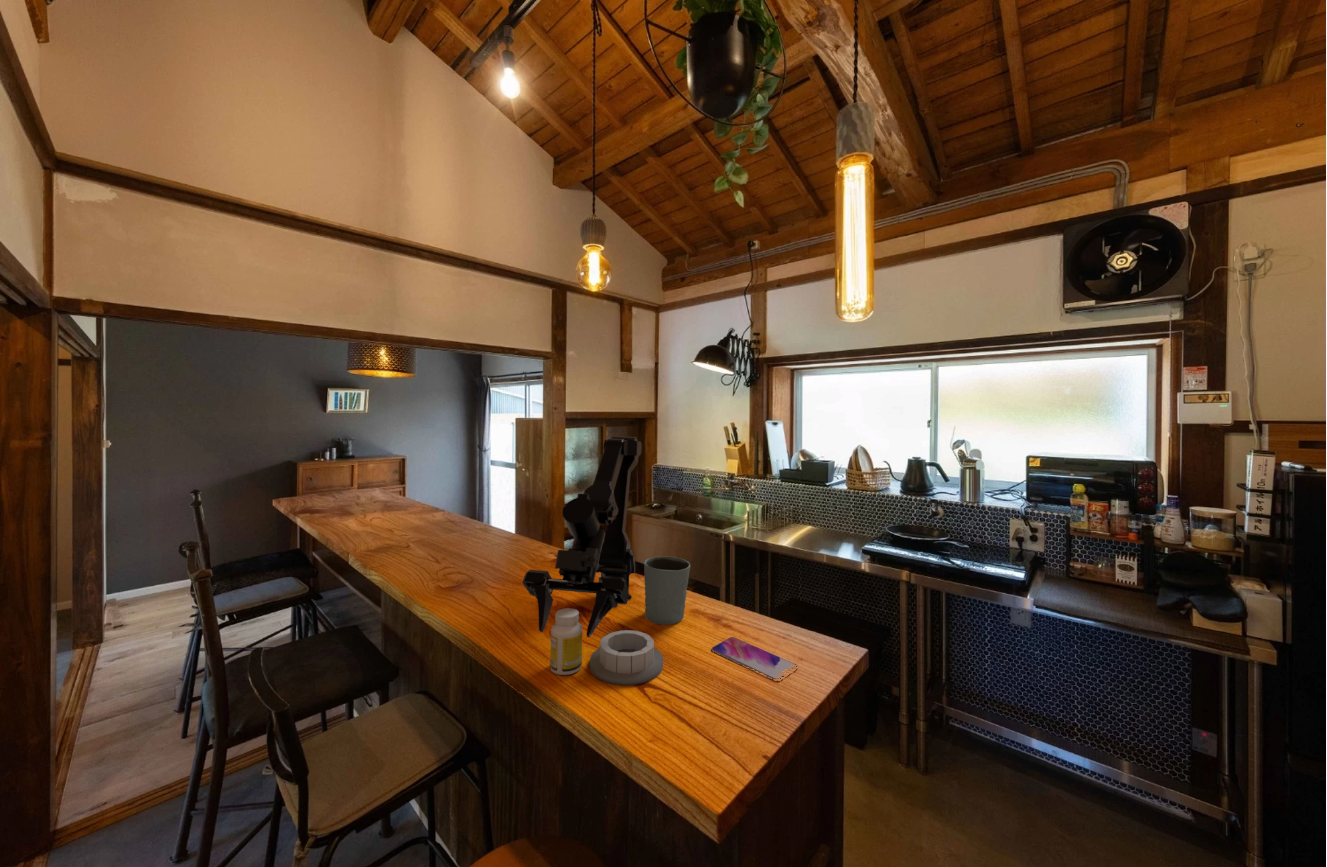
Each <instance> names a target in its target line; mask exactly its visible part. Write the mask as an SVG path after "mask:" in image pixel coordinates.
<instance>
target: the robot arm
mask: <svg viewBox="0 0 1327 867" xmlns="http://www.w3.org/2000/svg"><path fill="white" fill-rule="evenodd" d="M642 447H643V446H642V442H641V441H638V438H637V436H617V435H615V436H614V435H613V436H612V437H611V438H607V439H604V442H603V452H602V455H601V459H600V462H599V464H598V468H597V471H596V474H595V476H594V480H593V482H592V484H591V485H590V486H588V487H587V488H586V489H585V490H584V491H583V493H580V492H579V493H578V494H577V497H576V498H573V499H570V500H569V501H568V502H567V503H566V504H565V505H564V506H563V508H562V517H563V519H564V521H565V524H566V526H567V528H568V531H569V534H570V536H572V537H573V541H572V545H571V548H570V547H569V548H568V549H567V550H566V549H565V550H564V549H558V550H557V554H556V559H555V560H556V561H555V566H554V569H555V570H559V571H558V573H559V576H562V579H561V578H552V576H551V575H550V573H549V571H548V570H542V569H541V570H540V569H529V570H528V571H527V572H526V573H525V574H524V576H523V579H522V585H523V586H524V587H525V589H526V591H527V593H528V594H529V595H530V596H533V597H535V598H536V600H537V609H538V631H539V633H544V631H545V628H546V626H547V623H548V619H549V616H550V612H551V609H552V606H553V602H554V598H553V597H552V594H553V591H565V592H576V593H586V594H595V599H594V600H595V601H594V605H593V608H592V612H591V615H590V618H589V621H588V624H587V629H586V637H587V638H590V637H592V634H593V633H594V632H595V631H596V629H597V628H598V626H599V625H600V623H601V622H602V621H603V619H604V617H606V616H607V614H608V613H609V612H610V611H611V610H612V609H614V608H615V609H616V608H618V605H627V604H628V602H629V601H628V600H629V599H632V598H633V597H632V595H631V594H630V593H629V592H630V576H631V574H632V575H633V574H635V572H636V562H635V556H634V554H633V550H632V549H631V547H632V546H631V543H632V542H631V541H630V539H629V537H628V534H627V533H626V526H627V518H628V517H627V516H628V505H629V496H630V495H629V494H630V486H631V485H630V484H631V483H630V482H631V473H632V472H633V471H634V469H635V468H636V466H637V465H638V463H639V457H640V456H641V454H642V450H643V449H642ZM601 525H605V526H606V530H605V529H604V528H603V527H602V526H601ZM597 573H599V574H600V576H599V577H598V581H597V582H596V581H595V578H596V574H597Z"/></svg>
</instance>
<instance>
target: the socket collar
mask: <svg viewBox="0 0 1327 867" xmlns="http://www.w3.org/2000/svg"><path fill="white" fill-rule="evenodd" d="M663 668H664V657H663V655H662V653H661V652H660V650H658V649H657V648H655V640H654V638H652V637H651V636H650V635H649V634H648V633H644V632H642V631H638V630H631V629H629V630H628V629H625V630H618V631H612V632H610V633H607V635H605V636H603V637H602V638H601V640H600V643H599V648H597V649H596V650H594V652H592V654H591V655H590V658H589V670H590V671H591V674H592V675H593V676H594V677H595V678H597V679H598V680H600V681H603V682H605V683H606V684H611V685H617V686H635V685H636V686H637V685H640V684H645V683H647V681H648V682H650V681H651V680H654V679H655V678H656V677H658V676H659V675H660V674H661V673H662V672H663Z"/></svg>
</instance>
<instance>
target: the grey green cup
mask: <svg viewBox="0 0 1327 867" xmlns="http://www.w3.org/2000/svg"><path fill="white" fill-rule="evenodd" d="M643 569H644V570H643V571H644V596H645V597H644V603H645V604H644V616H645V618H647V619H646V620H647V621H649V622H651V623H653V624H655V625H665V626H667V625H668V626H669V625H674V624H678V623H680V622H681V621H683V619H684V617H685V616H684V615H685V608H686V601H687V600H686V598H687V593H688V591H687V589H688V584H689V576H690V570H691V564H690V562H689V561H687V560H686V559H683V558H680V557H675V556H667V555H666V556H665V555H664V556H653V557H650V558H647V559H645V560H644V562H643Z"/></svg>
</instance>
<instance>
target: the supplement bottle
mask: <svg viewBox="0 0 1327 867" xmlns="http://www.w3.org/2000/svg"><path fill="white" fill-rule="evenodd" d="M579 614H580V612H579V610H578V609H575V608H569V607H567V608H561V609H558V610H557V611H556V612H555V614H554V616H555V621H554V622H555V623H554V624H553V625H552V627H551V629H550V664H549V667H550V671H551V672H552V673H554V674H555V675H560V676H569V675H572V674H575V673H577V672H578V671H580V670H581V668H582V663H583V626H582V623H580V622H579V619H580V615H579Z"/></svg>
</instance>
